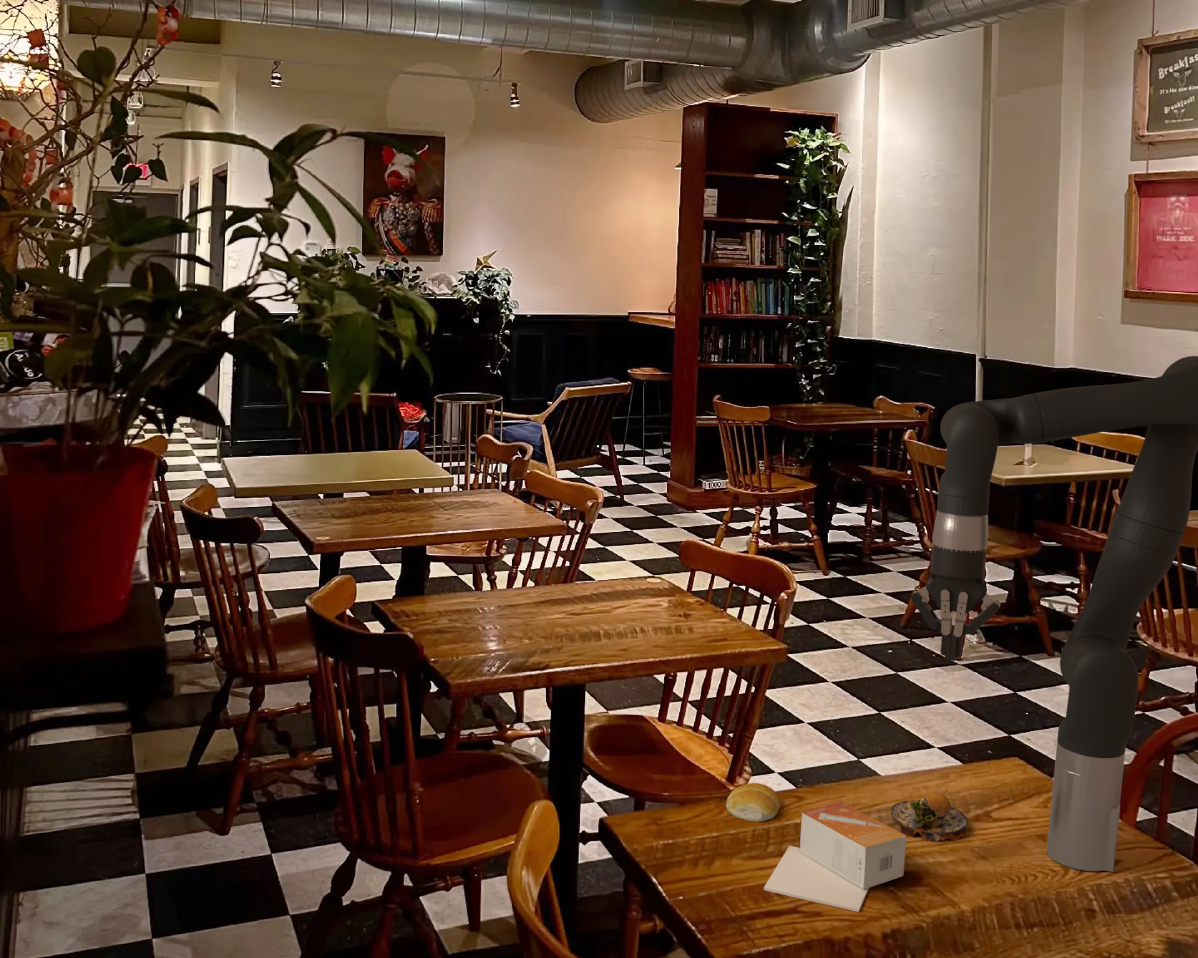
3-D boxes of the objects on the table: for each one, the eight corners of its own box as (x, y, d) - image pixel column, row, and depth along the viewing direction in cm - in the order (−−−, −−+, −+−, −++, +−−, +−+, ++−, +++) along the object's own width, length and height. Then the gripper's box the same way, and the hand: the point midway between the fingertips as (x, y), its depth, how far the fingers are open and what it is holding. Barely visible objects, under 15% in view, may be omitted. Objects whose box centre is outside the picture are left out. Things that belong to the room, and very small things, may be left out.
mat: (877, 867, 171) (878, 864, 171) (858, 911, 158) (858, 909, 158) (789, 848, 176) (789, 845, 176) (763, 889, 163) (763, 887, 163)
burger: (928, 804, 194) (931, 761, 193) (984, 834, 184) (988, 788, 182) (872, 818, 188) (876, 773, 187) (927, 850, 178) (931, 802, 177)
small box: (866, 847, 162) (800, 811, 173) (863, 890, 163) (798, 852, 174) (907, 834, 167) (841, 800, 177) (904, 876, 168) (838, 840, 178)
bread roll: (783, 803, 192) (784, 780, 191) (772, 826, 184) (774, 802, 183) (733, 795, 195) (734, 772, 194) (720, 817, 186) (721, 793, 186)
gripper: (1010, 543, 172) (1000, 659, 175) (917, 533, 177) (908, 646, 180) (1005, 553, 165) (995, 673, 168) (909, 542, 171) (900, 659, 173)
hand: (950, 658), depth 174 cm, fingers closed
